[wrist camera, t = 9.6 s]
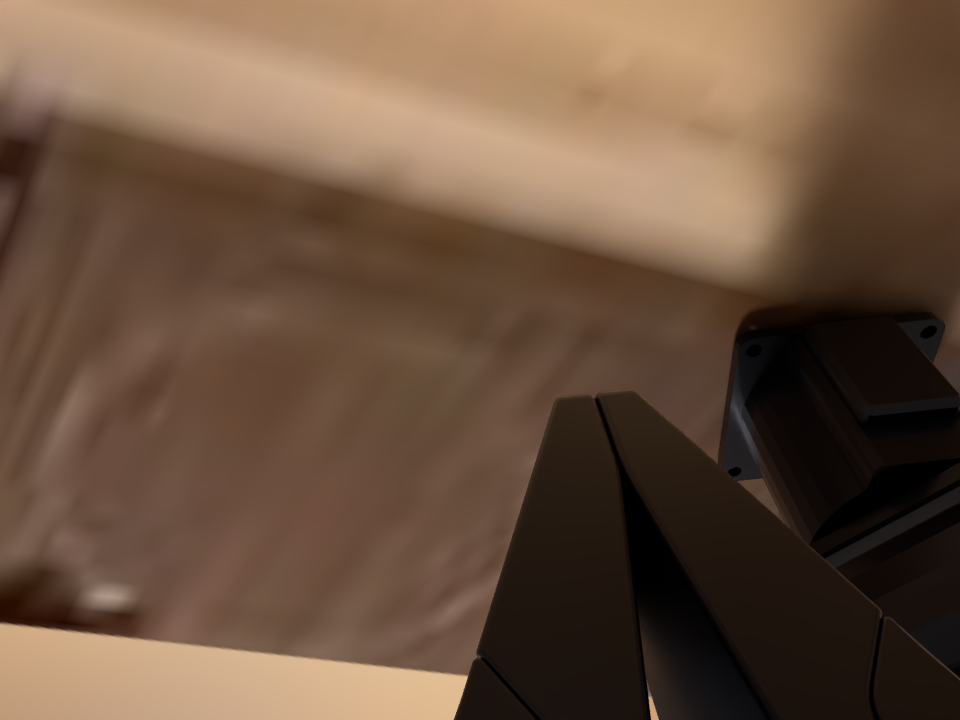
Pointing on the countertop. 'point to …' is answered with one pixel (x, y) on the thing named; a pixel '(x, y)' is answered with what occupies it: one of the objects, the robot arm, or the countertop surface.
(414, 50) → the countertop surface
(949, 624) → the robot arm
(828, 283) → the countertop surface
